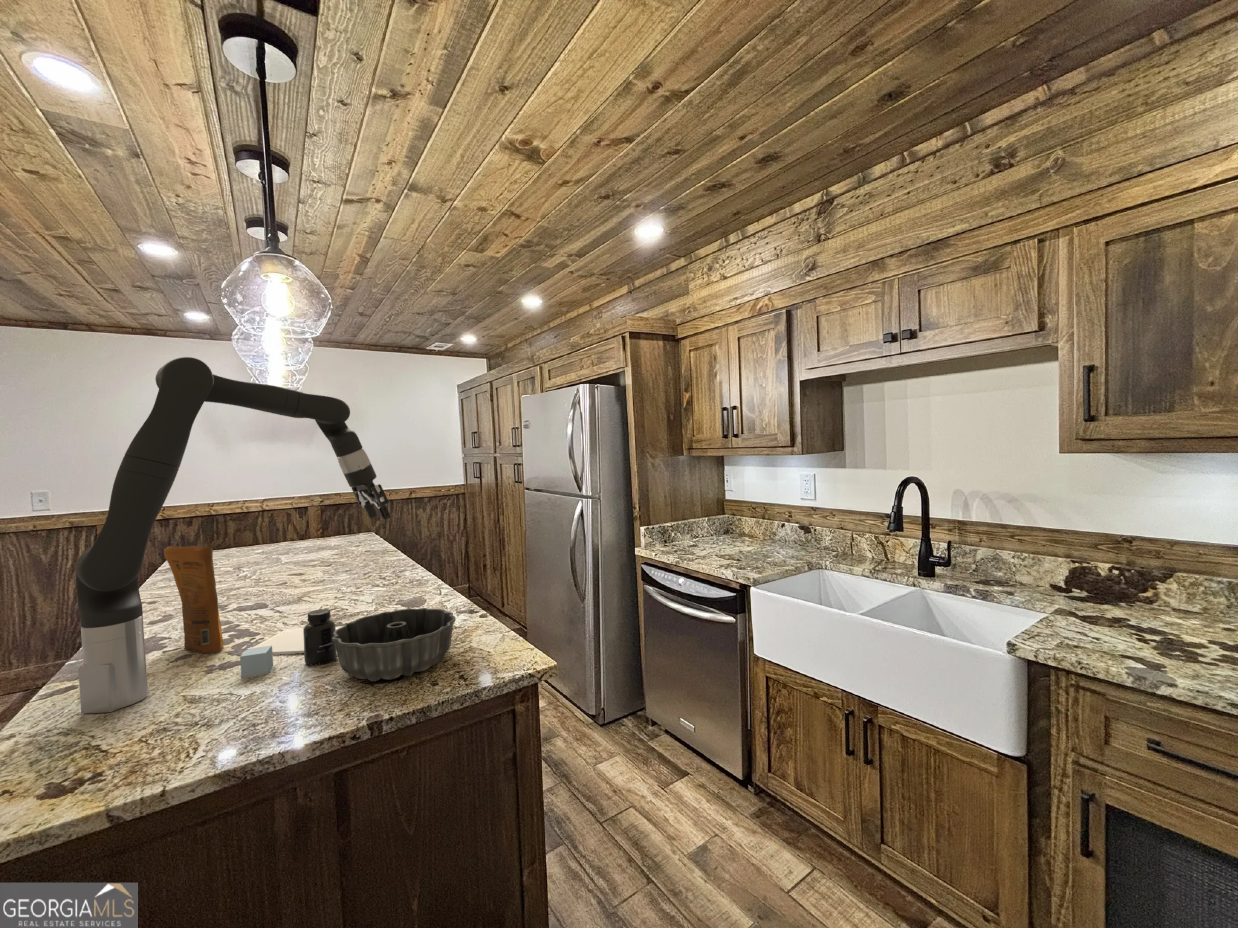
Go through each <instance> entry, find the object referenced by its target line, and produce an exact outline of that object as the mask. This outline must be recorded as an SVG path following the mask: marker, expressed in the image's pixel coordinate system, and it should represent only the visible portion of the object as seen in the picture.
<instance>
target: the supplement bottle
mask: <svg viewBox="0 0 1238 928" xmlns="http://www.w3.org/2000/svg"><path fill="white" fill-rule="evenodd" d="M331 618H332V617H331V609H329V608H328V609H327V608H324V609H323V608H322V609H321V608H320V609H316V610H312V611H309V612H308V613H307V623H306V624H305V626H304V627H303V628H304V629H303V636H304V654H303V655H304V657H303V658H304V663H305V665H307V666H319V665H325V664H328V663H330V662H333V661H334V660H335V659H336V658H337V657H338V655H337V650H336V646H335V642H334V641H332V638H333V637H334V635H333V633H334V631H335V630H336V627H337V626H336V622H335V621H333V620H332V619H331Z"/></svg>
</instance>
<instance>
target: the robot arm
mask: <svg viewBox="0 0 1238 928" xmlns="http://www.w3.org/2000/svg"><path fill="white" fill-rule="evenodd" d="M154 379H155V385H156V386H157V389H158V391H157V395H156V398H155V401H154V404H153V407H152V409H151V411H150V413H149V415H148V416H147V418H146V420H145V421H144V422H143V424H142V426H140V428H139V429H138V431H137V433H136V434H135V436H134V437H133V439H132V441H131V442H130V444H129V446H128V448H127V449H126V451H125V453H124V456H123V457H122V460H121V461H120V462H121V463H120V464H119V467H118V469H117V472H116V475H115V478H114V482H113V485H112V488H111V489H112V491H111V494H110V499H109V506H108V512H107V516H106V519H105V521H104V523H103V526H102V528H101V530H100V532H99V534H98V536H96V539H95V541H94V543H93V545H92V546H90V547H89V548H87V549H86V550H85V551H83V552H82V553H81V555H79V557H78V558H77V560H76V563H75V571H74V572H75V583H76V584H75V585H76V597H77V609H78V615H79V622H80V635H81V652H82V665H80V666H78V669H77V670H78V671H77V672H78V685H79V698H80V699H79V700H80V711H81V714H98V713H99V714H100V713H112V712H114V711H117V710H120V709H122V708H125V707H128V706H131V705H134V704H136V703H138V702H140V701H142V700H144V699H146V698H147V697H148V695H149V687H148V675H147V659H146V645H145V629H144V616H143V614H144V613H143V603H142V600H141V594H140V587H139V586H140V585H139V574H140V572H141V570H142V567H143V562H144V557H145V553H146V549H147V546H148V543H149V539H150V535H151V532H152V529H153V526H154V523H155V522H156V520H157V518H158V516H159V514H160V512H161V510H162V508H163V507H164V504H165V503H166V500H167V498H168V495H169V493H170V491H171V489H172V487H173V485H174V482H175V480H176V477H177V475H178V472H179V470H180V467H181V464H182V461H183V458H184V455H185V452H186V449H187V446H188V442H189V439H190V435H191V432H192V428H193V425H194V422H195V420H196V418H197V417H198V414H199V412H200V410H201V409H202V408H203V405H204V403H205V402H206V403H215V404H223V405H229V406H235V407H242V408H246V409H251V410H256V411H259V412H264V413H269V414H274V415H279V416H284V417H289V418H294V419H310V420H314V421H315V423H316V424H317V426H318V428H319V429H320V430H321V432H322V433H323V435H324V436H325V438H326V439H327V440H328V442H329V443H330V446H331V447H332V450H333V452H334V454H335V456H336V459H337V462H338V464H339V465H338V466H339V467H340V469H341V471H342V474H343V475H344V477H345V480H346V482H347V484H348V486H349V487H350V488H351V490H352V493H353V495H354V497H355V500H356V501H357V504H358V505H359V506H361V507H362V508H364V511H365V512H366V515H367V517H368V518H369V519H373V518H375V517H377V512H376V509H375V508H374V506H375V507H376V508H377V510H378V512H379V515H380V518H381V519H382V520H384V521H386V520H388V519H389V518H392V517H391V514H390V510H389V508H388V507H387V505H388V504H389V503H390V500H389V499H388V497H387V494H386V493H385V491H384V488H383V487H382V484H380V483H378V484H375V483H374V481H375V479H377V474H376V472H375V469H374V467H373V465H372V463H371V460H370V458H369V456H368V454H367V452H366V451H365V449H364V447H363V445H362V443H361V441H360V439H359V436H358V434H357V433H356V432H355V430H353V429H350V428H349V426H348V425H347V423H346V421H348V420H349V418H350V415H351V409H350V407H349V405H348V404H347V403H346V402H345V401H343V400H342V399H340V398H337V397H333V396H329V395H328V396H327V395H321V394H314V393H313V394H312V393H306V392H303V391H300V390H294V389H290V388H287V387H282V386H277V385H273V384H272V385H271V384H265V383H257V382H249V381H244V380H243V381H241V380H237V379H231V378H227V377H224V376H220V375H217V374H214V373H213V371H212V369H211V368H210V367H209V365H208V364H207V363H206V362H204V361H203V360H202V359H199V358H196V357H192V356H183V357H177V358H173V359H171V360H169V361H168V362H166V363H164V364H163V365H162V366H161V367H160V368H159V369H158V370H157V372H156V374H155V378H154Z"/></svg>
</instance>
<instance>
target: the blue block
mask: <svg viewBox="0 0 1238 928" xmlns="http://www.w3.org/2000/svg"><path fill="white" fill-rule="evenodd" d="M250 648H251V649H250ZM250 648H247V649H246V650H245V651H243V652H244V653H243V652H242V653H243V654H241V655H240V656H239V657H240V658H239V659H240V660H239V662H240V675H241V677H240V678H241V679H243V678H249V677H255V676H261V675H267V674H268V673H269V672H270V671H269V670H271V669H272V668H273V667H274V659H273V658H274V657H273V656H274V655H273V653H272V646H265V647H258V648H252V647H250ZM272 666H273V667H272Z"/></svg>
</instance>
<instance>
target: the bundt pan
mask: <svg viewBox="0 0 1238 928" xmlns="http://www.w3.org/2000/svg"><path fill="white" fill-rule="evenodd" d="M455 622H456V616H455V615H454V612H452V611H447V610H445V609H444V608H443V609H442V608H429V607H421V608H404V609H403V608H402V609H398V610H392V611H383V612H379V613H378V614H377V613H376V614H371V615H367V616H363V617H359V618H358V619H355V620H353V621H350V622H347V623H344V624H343V627H341V628H339V629H337V630H335V631H334V633H333V635H334V637H333V638H332V641H334V642H335V646H336V652H337V658H338V663H339V666H340V668H341V669H342V671H343V672H345V673H346V674H348V675H349V676H350V675H351V676H353V677H354V678H356V679H359V680H369V681H370V682H377V681H378V682H379V680H381V679H383V680H388V681H389V680H394V679H397V678H399V677H400V676H404V677H407V678H409V677H411V676H412V675H413V674H414V673H415V672H417V673H420V672H424V671H427V670H428V669H429V668H430V667H433V666H436V665H438V664H439V663H440V662H442V661H443V659H444V657H446V654H447V653H448V651H449V650H450V647H451V644H452V636H453V628H454V623H455Z"/></svg>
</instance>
